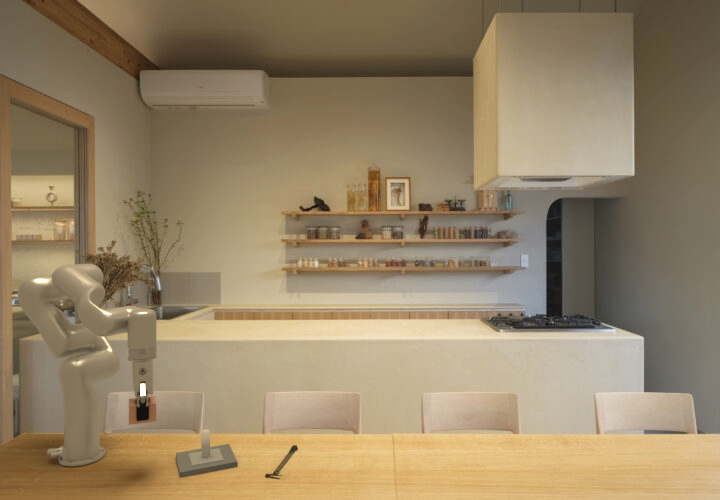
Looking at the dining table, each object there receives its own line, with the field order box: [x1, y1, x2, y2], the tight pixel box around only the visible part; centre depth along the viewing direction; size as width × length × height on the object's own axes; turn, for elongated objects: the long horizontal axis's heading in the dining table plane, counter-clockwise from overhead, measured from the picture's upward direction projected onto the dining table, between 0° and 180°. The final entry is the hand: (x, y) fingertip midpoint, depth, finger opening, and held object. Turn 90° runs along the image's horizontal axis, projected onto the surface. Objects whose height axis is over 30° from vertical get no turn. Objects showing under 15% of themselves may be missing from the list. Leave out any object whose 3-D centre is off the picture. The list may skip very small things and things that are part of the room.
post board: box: [175, 428, 239, 478], centre depth 153 cm, size 16×14×10 cm
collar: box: [128, 395, 157, 426], centre depth 145 cm, size 7×7×5 cm
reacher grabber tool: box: [264, 444, 298, 480], centre depth 153 cm, size 21×7×1 cm, turn 166°
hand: (142, 415), depth 145 cm, fingers closed on collar, 7 cm apart
